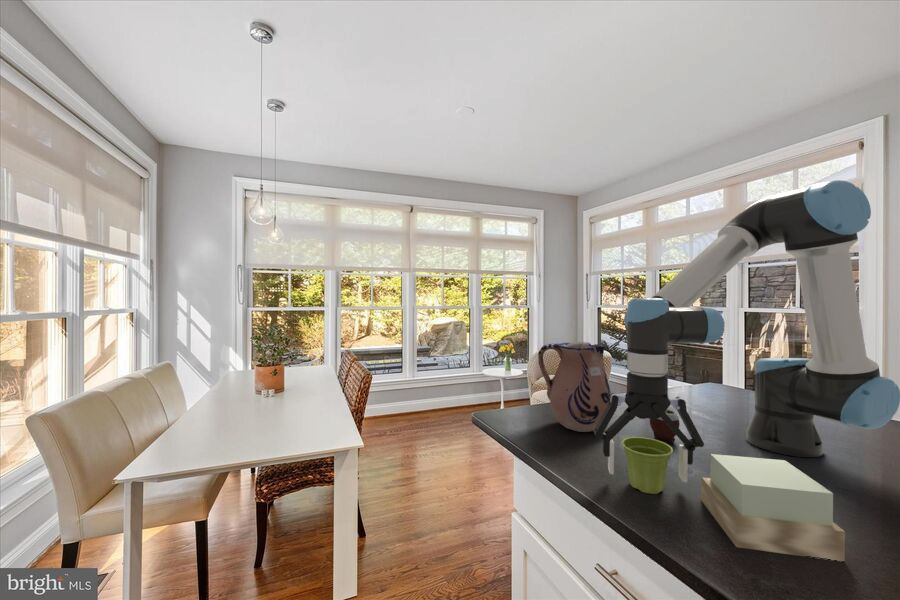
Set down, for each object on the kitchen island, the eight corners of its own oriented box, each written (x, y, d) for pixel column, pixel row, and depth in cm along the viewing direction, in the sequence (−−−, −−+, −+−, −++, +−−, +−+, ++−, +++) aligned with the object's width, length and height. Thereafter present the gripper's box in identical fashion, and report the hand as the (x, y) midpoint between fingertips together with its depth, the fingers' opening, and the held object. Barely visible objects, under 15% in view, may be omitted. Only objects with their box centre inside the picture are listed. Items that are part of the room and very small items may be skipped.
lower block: (787, 512, 71) (787, 485, 71) (844, 564, 57) (845, 531, 57) (701, 502, 74) (701, 477, 74) (736, 549, 60) (736, 518, 60)
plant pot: (680, 501, 74) (680, 456, 74) (627, 496, 76) (628, 452, 76) (663, 478, 83) (663, 438, 83) (617, 474, 85) (617, 435, 85)
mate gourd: (662, 446, 100) (663, 389, 100) (641, 436, 108) (642, 382, 108) (687, 444, 102) (687, 388, 101) (664, 433, 109) (665, 381, 109)
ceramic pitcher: (619, 440, 105) (619, 348, 104) (540, 435, 108) (540, 347, 108) (604, 419, 122) (605, 341, 122) (536, 416, 126) (537, 339, 125)
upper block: (784, 487, 70) (785, 460, 70) (832, 526, 58) (833, 493, 58) (710, 480, 73) (710, 453, 73) (741, 515, 61) (742, 484, 61)
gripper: (708, 372, 80) (707, 474, 80) (581, 366, 86) (581, 461, 86) (724, 380, 72) (723, 491, 73) (584, 373, 78) (584, 476, 79)
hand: (646, 475), depth 79 cm, fingers open, 13 cm apart
